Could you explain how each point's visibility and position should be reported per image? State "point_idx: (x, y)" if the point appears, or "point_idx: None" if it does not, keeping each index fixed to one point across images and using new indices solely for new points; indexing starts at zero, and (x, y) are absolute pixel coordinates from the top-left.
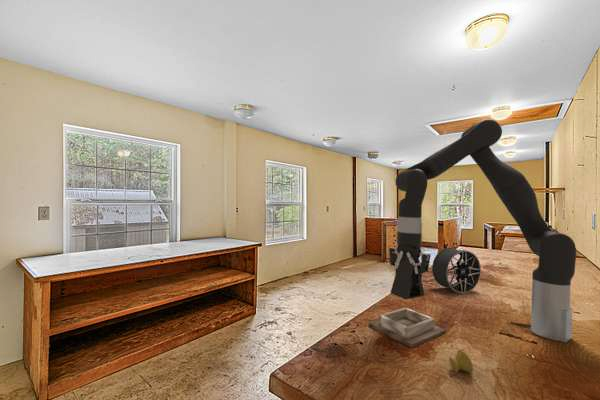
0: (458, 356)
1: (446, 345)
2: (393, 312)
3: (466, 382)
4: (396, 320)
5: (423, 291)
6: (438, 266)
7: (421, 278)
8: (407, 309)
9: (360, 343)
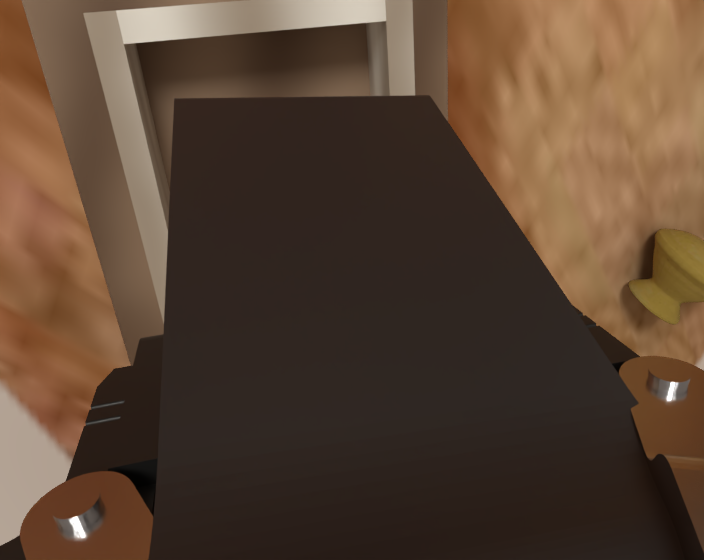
0: (695, 300)
1: (525, 112)
2: (164, 234)
3: (687, 304)
4: (166, 176)
5: (443, 124)
6: None
7: (602, 329)
8: (141, 42)
9: None
